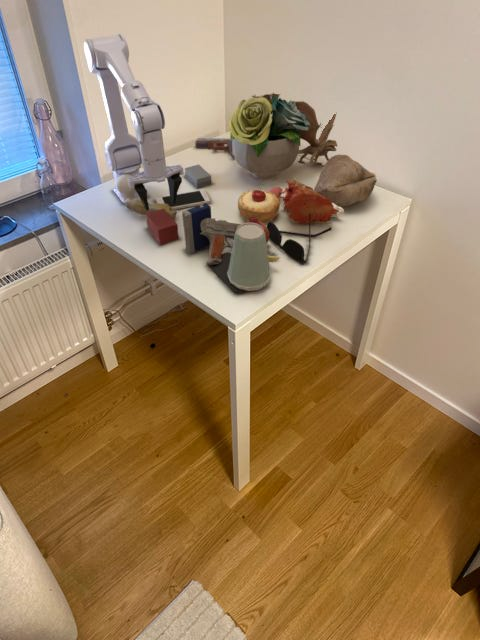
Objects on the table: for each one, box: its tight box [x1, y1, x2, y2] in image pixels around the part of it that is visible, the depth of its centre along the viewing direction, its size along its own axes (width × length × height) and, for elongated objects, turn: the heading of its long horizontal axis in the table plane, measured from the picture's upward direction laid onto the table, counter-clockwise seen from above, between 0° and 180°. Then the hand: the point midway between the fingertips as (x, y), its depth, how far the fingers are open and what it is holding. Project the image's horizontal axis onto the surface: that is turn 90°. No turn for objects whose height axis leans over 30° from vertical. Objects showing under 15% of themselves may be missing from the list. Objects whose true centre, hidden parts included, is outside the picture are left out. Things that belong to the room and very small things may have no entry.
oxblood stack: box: [146, 220, 180, 246], centre depth 134 cm, size 9×6×3 cm, turn 30°
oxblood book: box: [145, 209, 179, 236], centre depth 132 cm, size 9×6×2 cm, turn 30°
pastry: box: [237, 183, 281, 224], centre depth 139 cm, size 12×12×9 cm
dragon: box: [293, 100, 338, 165], centre depth 160 cm, size 17×25×19 cm
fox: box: [268, 254, 282, 263], centre depth 121 cm, size 12×9×2 cm
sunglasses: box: [266, 213, 332, 265], centre depth 130 cm, size 17×14×5 cm
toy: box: [267, 244, 275, 256], centre depth 129 cm, size 1×8×2 cm
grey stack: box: [184, 164, 213, 189], centre depth 157 cm, size 9×5×3 cm, turn 30°
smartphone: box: [155, 189, 211, 211], centre depth 147 cm, size 7×15×1 cm, turn 109°
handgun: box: [194, 137, 235, 159], centre depth 171 cm, size 3×19×12 cm
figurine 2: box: [267, 186, 289, 213], centre depth 145 cm, size 12×3×7 cm
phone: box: [207, 251, 247, 295], centre depth 122 cm, size 7×1×15 cm
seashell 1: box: [282, 177, 338, 225], centre depth 133 cm, size 17×11×15 cm
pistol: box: [200, 217, 242, 266], centre depth 128 cm, size 19×2×12 cm
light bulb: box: [115, 174, 136, 200], centre depth 142 cm, size 6×6×10 cm
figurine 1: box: [124, 198, 178, 220], centre depth 140 cm, size 5×5×15 cm
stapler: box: [331, 203, 345, 219], centre depth 139 cm, size 13×5×2 cm
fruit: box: [245, 217, 270, 245], centre depth 126 cm, size 8×8×10 cm
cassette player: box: [181, 203, 212, 255], centre depth 126 cm, size 7×2×12 cm, turn 125°
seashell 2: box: [313, 154, 378, 207], centre depth 144 cm, size 16×17×15 cm
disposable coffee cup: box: [227, 221, 272, 292], centre depth 114 cm, size 11×11×15 cm
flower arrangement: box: [228, 91, 310, 180], centre depth 151 cm, size 25×25×24 cm
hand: (159, 204), depth 129 cm, fingers open, 7 cm apart
